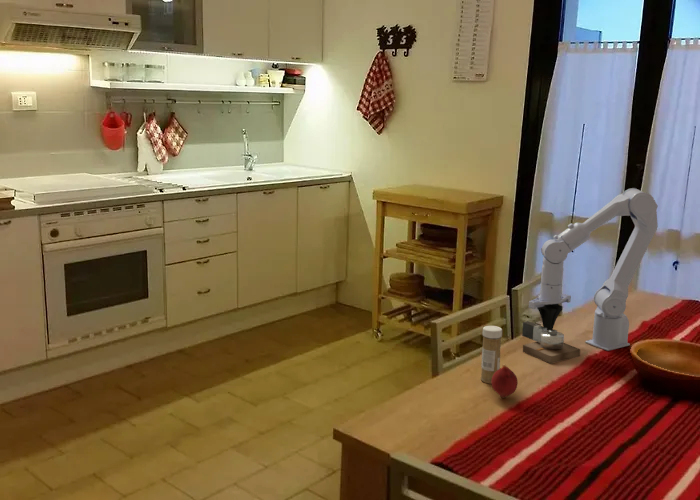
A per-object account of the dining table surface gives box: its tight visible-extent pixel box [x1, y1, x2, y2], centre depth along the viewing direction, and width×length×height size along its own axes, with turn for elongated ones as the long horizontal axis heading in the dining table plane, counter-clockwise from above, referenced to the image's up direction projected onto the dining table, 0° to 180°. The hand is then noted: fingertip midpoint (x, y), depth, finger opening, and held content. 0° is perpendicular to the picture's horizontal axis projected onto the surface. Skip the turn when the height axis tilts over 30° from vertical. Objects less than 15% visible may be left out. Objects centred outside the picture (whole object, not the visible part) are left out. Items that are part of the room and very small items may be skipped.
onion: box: [490, 363, 518, 399], centre depth 158 cm, size 6×6×8 cm
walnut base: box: [522, 341, 581, 365], centre depth 187 cm, size 11×10×2 cm
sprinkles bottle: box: [480, 325, 503, 385], centre depth 167 cm, size 5×5×13 cm
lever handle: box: [521, 320, 565, 349], centre depth 189 cm, size 13×6×4 cm, turn 31°
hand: (547, 329), depth 195 cm, fingers closed
